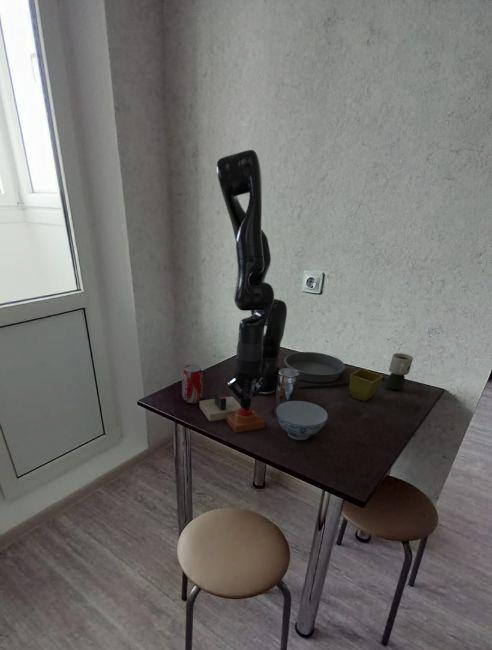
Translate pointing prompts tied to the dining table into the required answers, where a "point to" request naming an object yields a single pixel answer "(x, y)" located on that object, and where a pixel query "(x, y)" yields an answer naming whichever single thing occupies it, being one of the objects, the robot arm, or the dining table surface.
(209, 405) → the panel
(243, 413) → the button
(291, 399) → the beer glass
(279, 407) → the chinaware
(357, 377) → the flower pot
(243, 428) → the housing
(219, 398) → the oven dial
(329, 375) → the cake pan
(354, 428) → the dining table surface
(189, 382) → the soda can
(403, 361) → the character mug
